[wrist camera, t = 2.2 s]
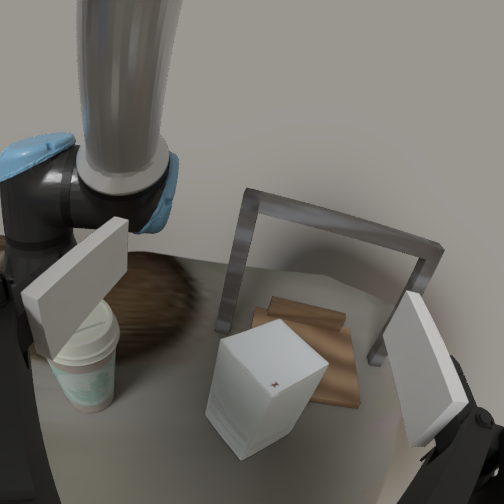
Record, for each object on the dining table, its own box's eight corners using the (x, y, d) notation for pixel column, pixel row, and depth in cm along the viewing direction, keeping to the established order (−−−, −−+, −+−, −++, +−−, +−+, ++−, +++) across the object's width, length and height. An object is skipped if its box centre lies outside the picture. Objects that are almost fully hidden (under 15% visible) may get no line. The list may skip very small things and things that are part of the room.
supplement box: (291, 433, 33) (333, 364, 27) (239, 462, 28) (271, 398, 23) (253, 391, 38) (281, 316, 32) (202, 413, 33) (218, 337, 27)
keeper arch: (389, 411, 37) (474, 288, 28) (199, 376, 38) (228, 221, 28) (373, 337, 52) (426, 228, 42) (224, 303, 52) (252, 177, 42)
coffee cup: (53, 420, 26) (22, 346, 21) (60, 363, 33) (42, 285, 28) (127, 425, 29) (117, 353, 24) (125, 366, 36) (120, 290, 30)
